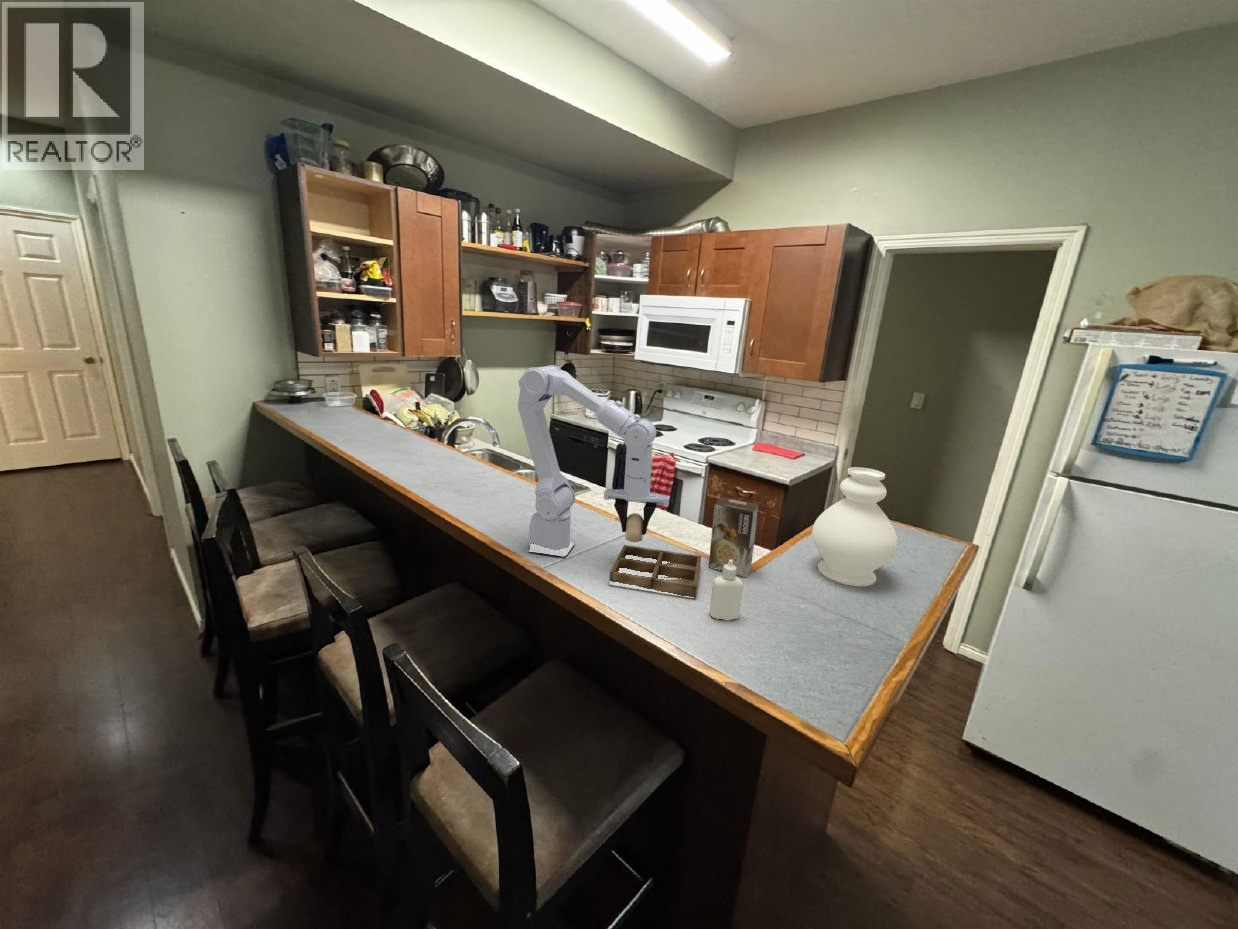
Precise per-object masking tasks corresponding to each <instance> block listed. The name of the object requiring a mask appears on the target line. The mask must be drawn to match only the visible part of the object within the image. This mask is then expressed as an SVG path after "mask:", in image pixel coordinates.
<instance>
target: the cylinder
mask: <svg viewBox="0 0 1238 929" xmlns="http://www.w3.org/2000/svg"><path fill="white" fill-rule="evenodd" d="M643 520H644V517H643V516H642V515H641V514H639V513H635V512H634V513H631V514H629V515H627V520H626V531H625V532H624V533H625V536H624V539H625V541H628V542H630V543H638V542H639V543H640V542H641V541H643V538H644V535H642V529H643Z"/></svg>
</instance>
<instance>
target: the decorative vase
mask: <svg viewBox="0 0 1238 929" xmlns="http://www.w3.org/2000/svg"><path fill="white" fill-rule="evenodd" d="M847 474H848V475H850V476H848V477H846V478H844V479H843V480H842V481H841V483H840V484H839V489H840V491H841V493H842V495H844V496H845V497H844V498H842V499H840V500H838V501H836V502H835V503H833V504H832V505H831V506H830V505H829V507H828V508H826V509H825V510H824V511H823V512H821V514H820V515H819V516H818V517H817V518H816V520H815V521H814V524H813V526H812V530H811V535H812V536H811V537H812V541H813V544H814V546H815V547H816V549H817V551H818V553H819V554H820V556H821V557H822V560H821V561H819V562H818V565H817V568H818V571H819V572H820V574H822V575H823V576H824V577H826V578H827V579H829V580H831V581H834V582H835V583H838V584H842V585H846V586H850V587H861V588H862V587H864V588H865V587H868V586H869V587H870V586H872V585H874V584H875V583H876V581H877V575H876V573H875V572H874V571H876V570H878V569H879V568H880V567H883V566H884V565H886V564H887V563H888V562H889V561H891V560H892V559H893V557H895V555H896V552H897V548H898V536H897V533H896V530H895V528H894V526H893V524H892V523H891V520H890V519H889V518H888V516H887V514H885V512H884V511H883V510H882V508H881V507H880V506H879V504H878V503H879V502H881V501H882V500H884V499H885V498H886V497H887V491H888V490H887V488H886V487H885V485H884V483H882V482H881V481H883V480H885V479H886V474H885V473H884V472H883V471H880V470H878V469H873V468H868V467H858V466H854V467H852V466H851V467H848V468H847Z"/></svg>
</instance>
